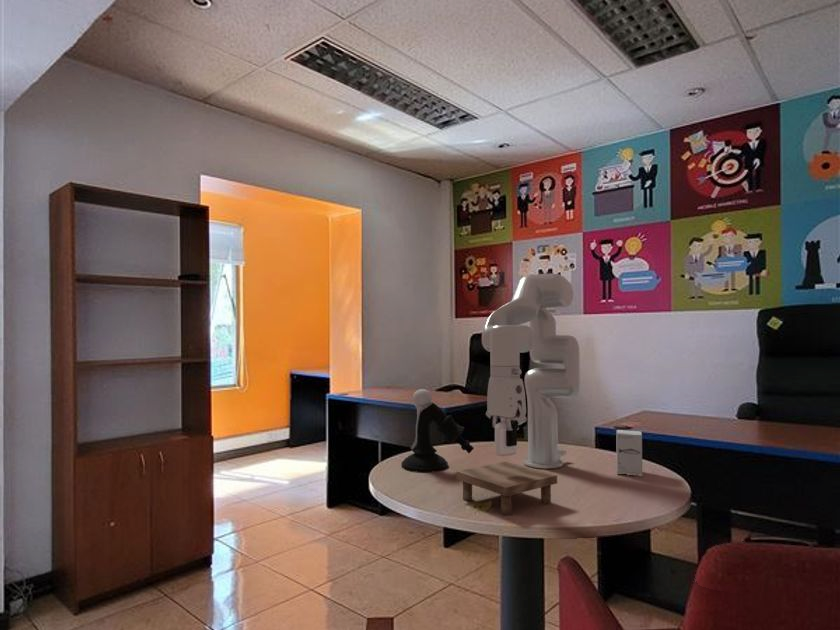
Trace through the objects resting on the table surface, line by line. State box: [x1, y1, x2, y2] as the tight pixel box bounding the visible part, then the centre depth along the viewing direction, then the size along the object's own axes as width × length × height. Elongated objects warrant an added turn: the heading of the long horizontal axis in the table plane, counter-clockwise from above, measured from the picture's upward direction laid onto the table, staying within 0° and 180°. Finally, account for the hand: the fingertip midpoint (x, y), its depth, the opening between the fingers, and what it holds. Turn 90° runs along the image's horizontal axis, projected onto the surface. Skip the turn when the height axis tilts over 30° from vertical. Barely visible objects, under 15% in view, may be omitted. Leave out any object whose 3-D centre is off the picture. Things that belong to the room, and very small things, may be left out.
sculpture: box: [401, 388, 475, 473], centre depth 168 cm, size 15×24×25 cm, turn 76°
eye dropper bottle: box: [494, 417, 517, 457], centre depth 133 cm, size 4×6×12 cm
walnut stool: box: [456, 461, 558, 517], centre depth 132 cm, size 18×18×7 cm
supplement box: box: [615, 429, 643, 476], centre depth 159 cm, size 7×7×13 cm
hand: (505, 443), depth 133 cm, fingers closed on eye dropper bottle, 3 cm apart
